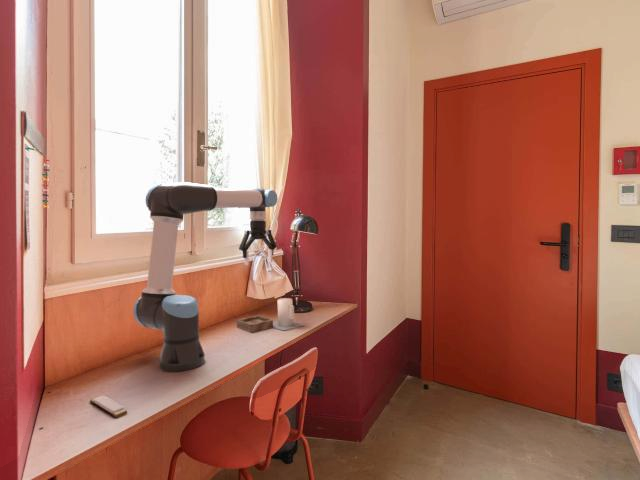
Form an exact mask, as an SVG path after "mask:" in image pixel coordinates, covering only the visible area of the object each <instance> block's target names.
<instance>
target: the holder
mask: <svg viewBox="0 0 640 480" xmlns="http://www.w3.org/2000/svg"><path fill="white" fill-rule="evenodd" d="M273 324H274V320H273V319H271V318H268V317H266V316H263V315H260V314H259V315H258V314H257V315H254V316H249V317H244V318H240V319H236V327H237V328H238V329H240V330H243V331H244V332H247V333H249V334H251V333H256V332H260V331H264V330H268V329H273Z"/></svg>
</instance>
